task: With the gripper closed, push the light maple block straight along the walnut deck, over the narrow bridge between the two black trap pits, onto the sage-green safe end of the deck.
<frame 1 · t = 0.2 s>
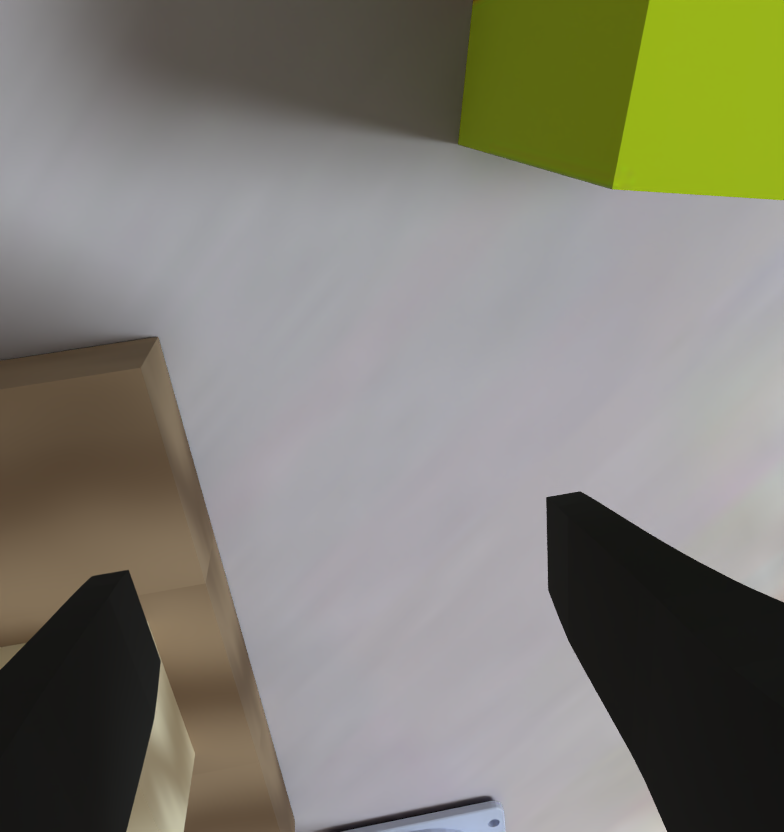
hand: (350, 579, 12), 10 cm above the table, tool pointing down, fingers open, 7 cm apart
maple block: (78, 709, 22), point 2 cm above the table, touching trap deck
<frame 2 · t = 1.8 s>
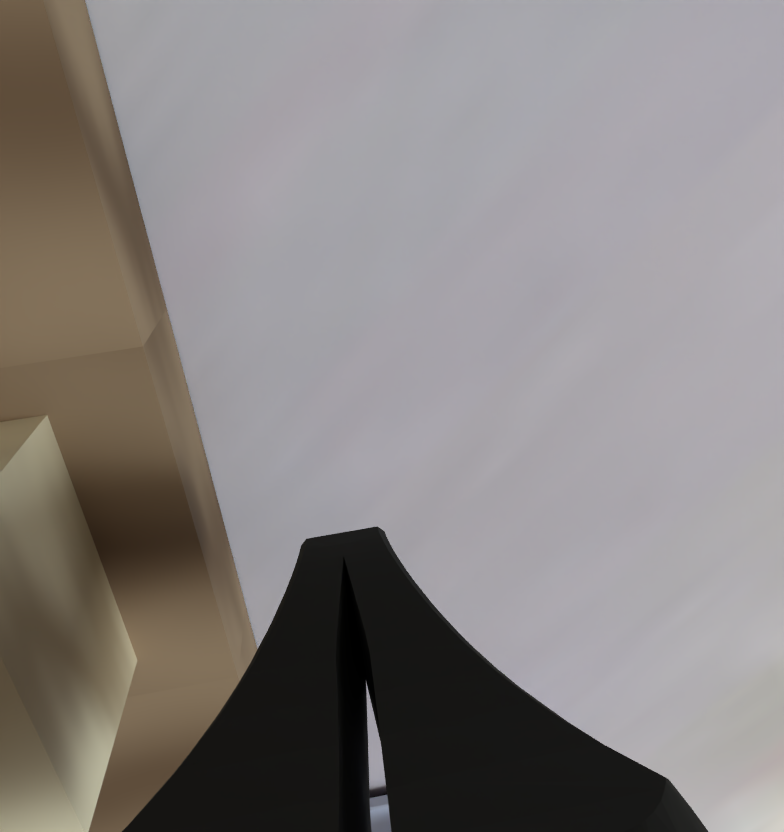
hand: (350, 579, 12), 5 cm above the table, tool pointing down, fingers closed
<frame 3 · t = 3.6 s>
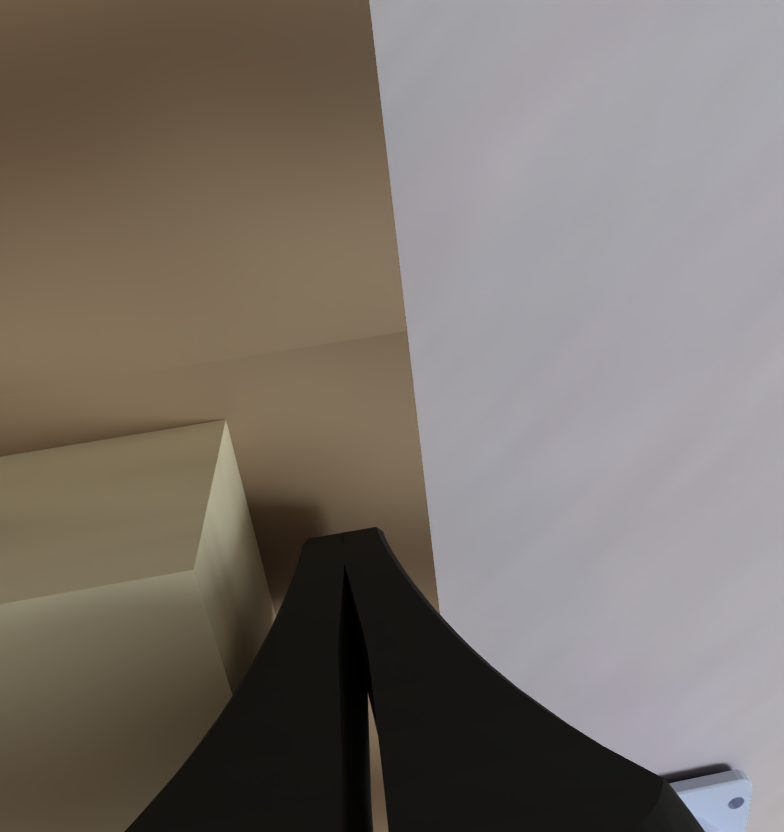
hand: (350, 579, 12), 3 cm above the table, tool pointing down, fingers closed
maple block: (97, 595, 12), point 3 cm above the table, touching gripper
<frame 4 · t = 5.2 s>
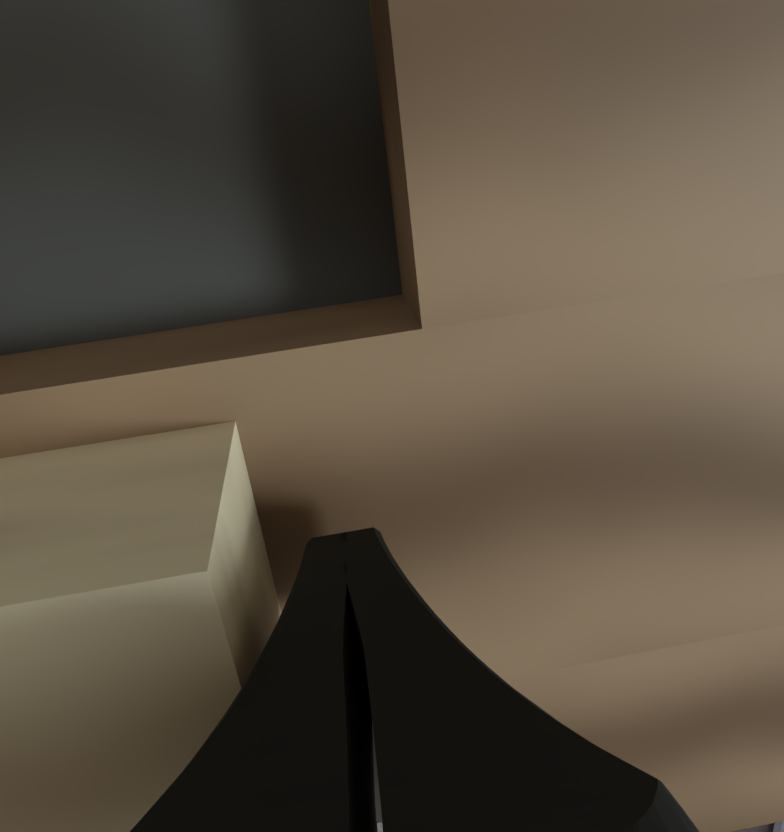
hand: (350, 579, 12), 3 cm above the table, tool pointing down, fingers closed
maple block: (105, 595, 12), point 3 cm above the table, touching gripper, trap deck
trap deck: (192, 506, 15), on the table
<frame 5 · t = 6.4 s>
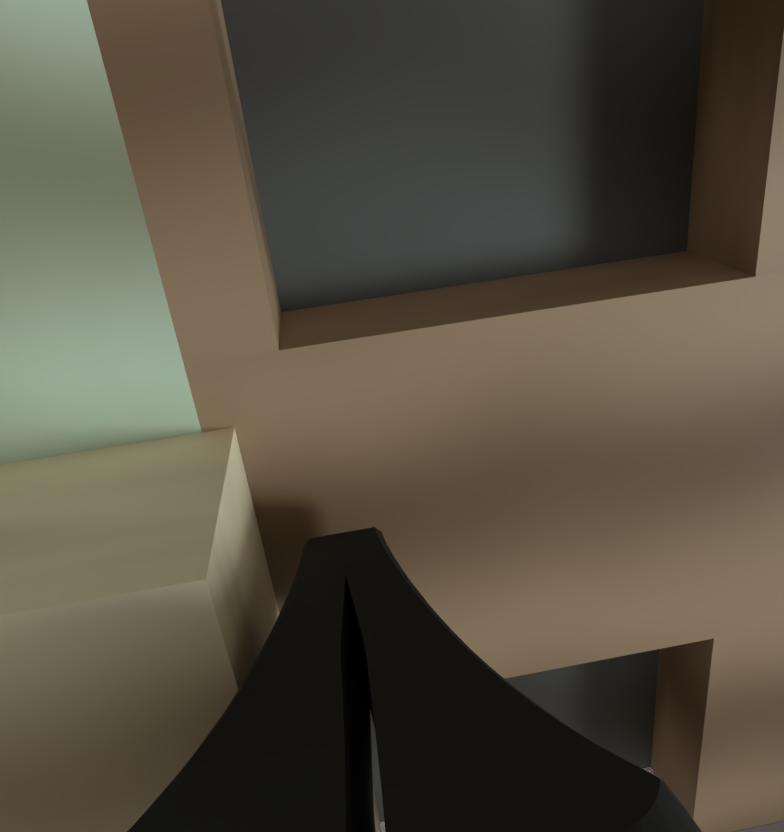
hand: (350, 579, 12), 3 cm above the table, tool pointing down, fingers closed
maple block: (104, 600, 12), point 2 cm above the table, touching gripper, trap deck
trap deck: (450, 462, 15), on the table
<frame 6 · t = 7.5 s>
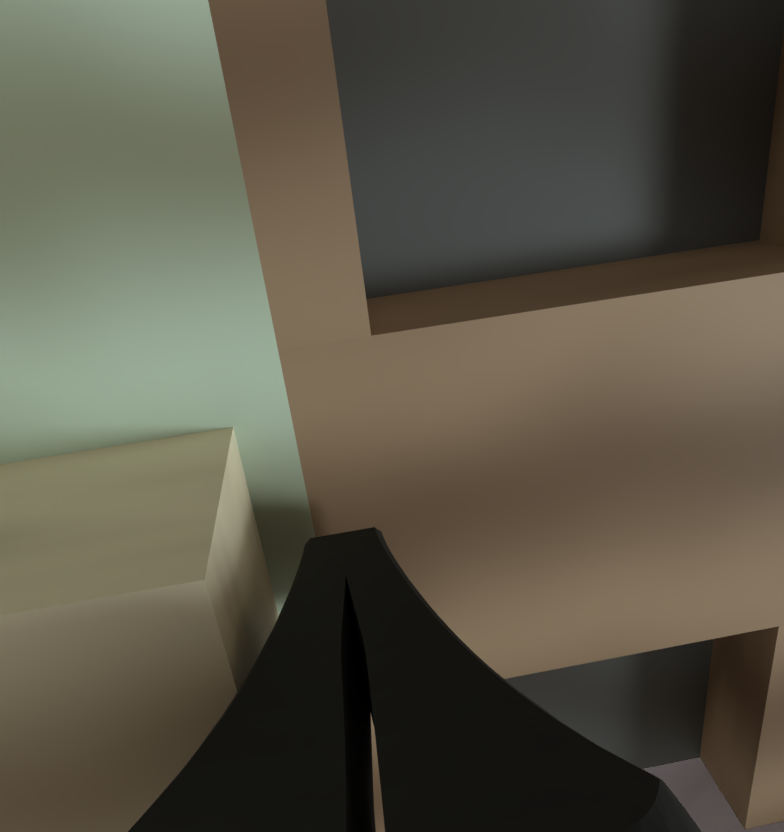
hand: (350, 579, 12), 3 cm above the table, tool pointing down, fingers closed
maple block: (103, 600, 12), point 2 cm above the table, touching gripper, trap deck
trap deck: (516, 451, 15), on the table
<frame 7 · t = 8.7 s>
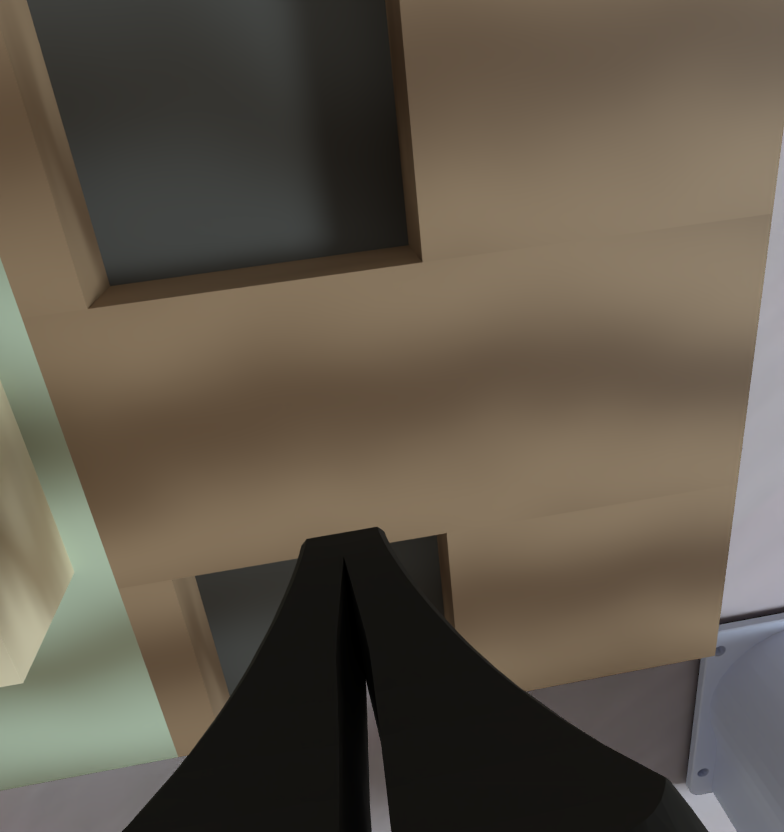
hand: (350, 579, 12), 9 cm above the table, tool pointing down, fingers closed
trap deck: (254, 401, 20), on the table
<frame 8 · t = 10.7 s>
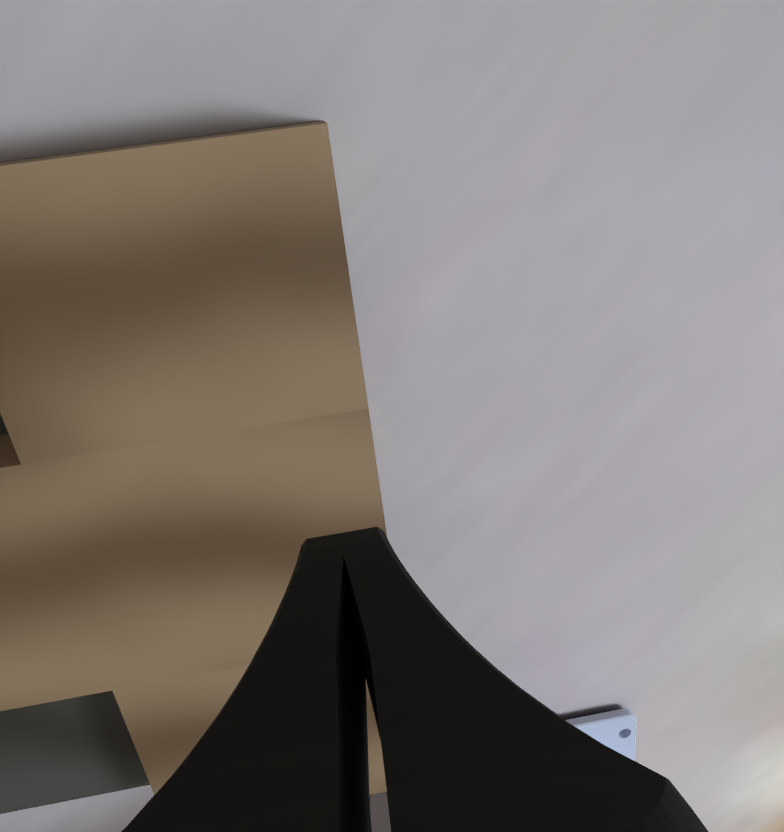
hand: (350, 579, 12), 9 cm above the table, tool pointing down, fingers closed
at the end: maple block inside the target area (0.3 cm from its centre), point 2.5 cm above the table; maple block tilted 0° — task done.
